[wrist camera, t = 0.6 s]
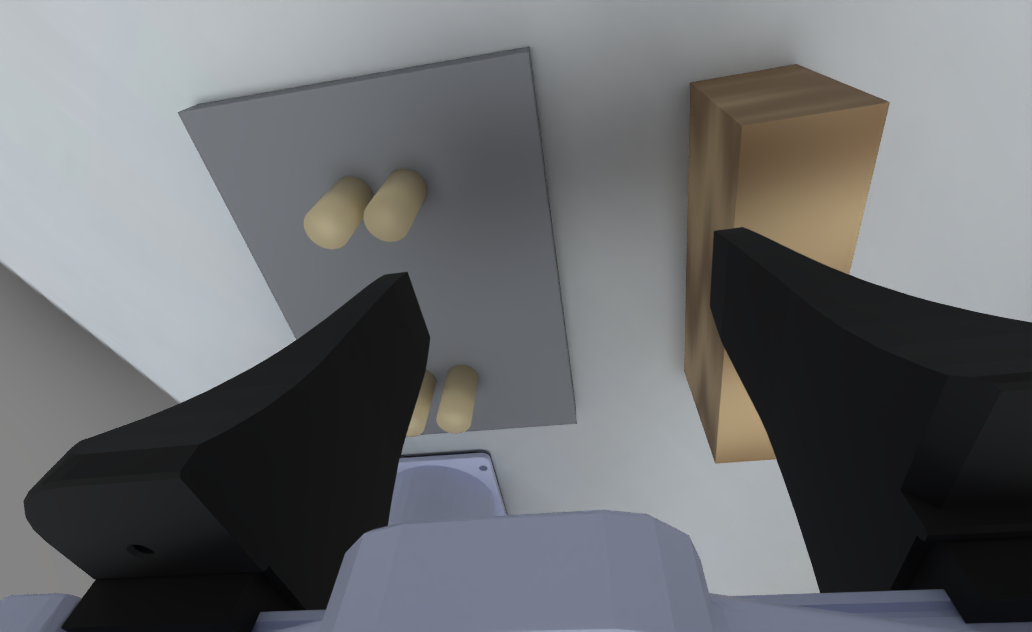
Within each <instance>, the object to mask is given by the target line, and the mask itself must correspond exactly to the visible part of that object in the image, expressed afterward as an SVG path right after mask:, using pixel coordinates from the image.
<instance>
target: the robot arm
mask: <svg viewBox="0 0 1032 632" xmlns="http://www.w3.org/2000/svg"><path fill="white" fill-rule="evenodd" d="M710 309H711V312H712V315H713V318H714V322H715V325H716V328H717V331H718V334H719V337H720V339H721V342H722V344H723V346H724V348H725V350H726V352H727V354H728V356H729V358H730V360H731V362H732V364H733V366H734V368H735V370H736V372H737V374H738V376H739V378H740V380H741V382H742V384H743V386H744V387H745V389H746V391H747V393H748V395H749V397H750V399H751V401H752V403H753V405H754V407H755V409H756V411H757V413H758V415H759V417H760V419H761V421H762V423H763V426H764V428H765V430H766V432H767V435H768V437H769V440H770V443H771V446H772V448H773V451H774V454H775V456H776V459H777V462H778V465H779V467H780V470H781V473H782V476H783V478H784V481H785V484H786V487H787V490H788V493H789V496H790V499H791V502H792V505H793V507H794V510H795V513H796V516H797V519H798V522H799V526H800V529H801V532H802V535H803V538H804V541H805V544H806V548H807V551H808V554H809V557H810V560H811V563H812V566H813V570H814V573H815V577H816V580H817V583H818V587H819V590H820V593H812V594H782V595H752V596H726V595H719V594H712V593H709V591H708V587H707V584H706V580H705V576H704V572H703V568H702V564H701V560H700V558H699V556H698V554H697V552H696V549H695V547H694V545H693V543H692V541H691V539H690V537H689V535H687V534H685V533H683V532H682V531H680V530H678V529H676V528H674V527H672V526H670V525H668V524H666V523H664V522H662V521H660V520H658V519H656V518H654V517H652V516H650V515H648V514H642V513H631V512H621V511H610V510H592V511H575V512H558V513H541V514H524V515H507V513H506V510H505V507H504V503H503V500H502V496H501V493H500V489H499V486H498V482H497V479H496V476H495V472H494V469H493V465H492V462H491V458H490V456H489V455H487V454H485V453H471V454H456V455H440V456H425V457H410V458H400V456H401V452H402V448H403V444H404V441H405V438H406V434H407V431H408V428H409V425H410V421H411V418H412V415H413V412H414V409H415V405H416V402H417V399H418V396H419V392H420V389H421V386H422V382H423V379H424V375H425V372H426V366H427V360H428V353H429V345H430V335H429V332H428V329H427V326H426V323H425V320H424V318H423V315H422V312H421V309H420V306H419V303H418V300H417V297H416V294H415V292H414V289H413V286H412V283H411V280H410V277H409V274H408V272H401V273H393V274H386V275H383V276H381V277H379V278H378V279H376V280H375V281H373V282H372V283H371V284H369V285H368V286H367V287H365V288H364V289H363V290H361V291H360V292H359V293H358V294H356V295H355V296H354V297H353V298H351V299H350V300H349V301H347V302H346V303H345V304H344V305H342V306H341V307H340V308H339V309H337V310H336V311H335V312H334V313H332V314H331V315H330V316H328V317H327V318H326V319H324V320H323V321H322V322H320V323H319V324H318V325H316V326H315V327H314V328H312V329H311V330H309V331H308V332H307V333H305V334H304V335H303V336H301V337H300V338H299V339H297V340H296V341H294V342H293V343H291V344H290V345H288V346H287V347H285V348H284V349H282V350H281V351H279V352H278V353H276V354H274V355H273V356H271V357H269V358H268V359H266V360H264V361H263V362H261V363H259V364H258V365H256V366H254V367H253V368H251V369H249V370H247V371H245V372H243V373H241V374H239V375H237V376H236V377H234V378H232V379H230V380H228V381H226V382H224V383H222V384H220V385H218V386H216V387H214V388H212V389H211V390H208V391H206V392H204V393H202V394H200V395H198V396H195V397H193V398H191V399H189V400H187V401H184V402H182V403H180V404H178V405H175V406H173V407H171V408H168V409H166V410H163V411H161V412H159V413H156V414H153V415H151V416H149V417H146V418H143V419H141V420H138V421H135V422H133V423H130V424H127V425H124V426H121V427H119V428H116V429H113V430H110V431H108V432H105V433H102V434H99V435H96V436H94V437H91V438H88V439H85V440H82V441H80V442H78V443H77V444H76V445H74V447H72V448H71V449H70V450H69V451H68V452H67V453H66V454H65V455H64V456H63V457H62V458H61V459H60V460H59V461H58V462H57V463H56V464H55V465H54V466H53V467H52V468H51V469H50V470H49V471H48V472H47V473H46V474H45V475H44V477H42V478H41V480H40V481H38V483H37V484H36V485H35V486H34V487H33V488H32V489H31V490H30V491H29V492H28V494H27V496H26V497H25V499H24V508H25V515H26V518H27V520H28V522H29V523H30V525H31V526H32V528H33V529H34V531H36V533H38V534H39V535H40V536H41V537H42V538H43V539H44V540H45V541H46V542H47V543H49V544H50V545H51V546H52V547H54V548H55V549H56V550H58V551H59V552H60V553H61V554H63V555H64V556H65V557H66V558H68V559H69V560H70V561H72V562H73V563H74V564H75V565H77V566H78V567H79V568H81V569H82V570H83V571H84V572H86V573H87V574H88V575H90V576H91V577H92V578H93V579H96V580H95V582H94V583H93V584H92V586H91V587H90V589H89V590H88V591H87V592H86V594H85V595H84V596H83V598H82V599H81V598H79V597H76V596H73V595H70V594H62V593H52V594H51V593H50V594H26V595H10V596H8V597H4V598H3V599H2V600H1V601H0V632H1032V322H1026V321H1020V320H1014V319H1008V318H1003V317H998V316H993V315H988V314H983V313H978V312H974V311H969V310H965V309H961V308H957V307H953V306H949V305H944V304H940V303H936V302H932V301H928V300H925V299H921V298H917V297H914V296H910V295H907V294H904V293H901V292H897V291H894V290H891V289H888V288H885V287H882V286H879V285H875V284H873V283H870V282H867V281H864V280H861V279H859V278H856V277H854V276H851V275H849V274H846V273H844V272H841V271H839V270H836V269H834V268H831V267H829V266H827V265H824V264H822V263H820V262H817V261H815V260H813V259H811V258H809V257H806V256H804V255H802V254H800V253H798V252H796V251H794V250H792V249H790V248H787V247H785V246H783V245H781V244H779V243H777V242H775V241H773V240H771V239H769V238H767V237H765V236H763V235H761V234H758V233H756V232H754V231H752V230H749V229H747V228H744V227H739V228H731V229H724V230H716V231H714V235H713V254H712V272H711V290H710Z"/></svg>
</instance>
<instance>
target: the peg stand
mask: <svg viewBox="0 0 1032 632" xmlns="http://www.w3.org/2000/svg"><path fill="white" fill-rule="evenodd" d="M178 114H179V116H180V118H181V120H182V122H183V124H184V125H185V127H186V129H187V131H188V133H189V135H190V137H191V139H192V141H193V143H194V145H195V147H196V148H197V150H198V152H199V154H200V156H201V158H202V160H203V162H204V164H205V166H206V168H207V169H208V171H209V173H210V175H211V177H212V179H213V181H214V183H215V185H216V187H217V189H218V191H219V192H220V194H221V196H222V198H223V200H224V202H225V204H226V206H227V208H228V210H229V212H230V213H231V215H232V217H233V219H234V221H235V223H236V225H237V227H238V229H239V231H240V233H241V235H242V236H243V238H244V240H245V242H246V244H247V246H248V248H249V250H250V252H251V254H252V256H253V257H254V259H255V261H256V263H257V265H258V267H259V269H260V271H261V273H262V275H263V277H264V278H265V280H266V282H267V284H268V286H269V288H270V290H271V292H272V294H273V296H274V298H275V300H276V301H277V303H278V305H279V307H280V309H281V311H282V313H283V315H284V317H285V319H286V321H287V322H288V324H289V326H290V328H291V330H292V332H293V334H294V336H295V338H296V340H297V339H299V338H300V337H301V336H303V335H304V334H305V333H307V332H308V331H309V330H311V329H312V328H314V327H315V326H316V325H318V324H319V323H320V322H322V321H323V320H324V319H326V318H327V317H328V316H330V315H331V314H332V313H334V312H335V311H336V310H337V309H339V308H340V307H341V306H342V305H344V304H345V303H346V302H347V301H349V300H350V299H351V298H353V297H354V296H355V295H356V294H358V293H359V292H360V291H361V290H363V289H364V288H365V287H367V286H368V285H369V284H371V283H372V282H373V281H375V280H376V279H378V278H379V277H381V276H383V275H386V274H393V273H401V272H408V274H409V277H410V280H411V283H412V286H413V289H414V292H415V294H416V297H417V300H418V303H419V306H420V309H421V312H422V315H423V318H424V320H425V323H426V326H427V329H428V332H429V335H430V345H429V353H428V360H427V366H426V372H425V375H424V379H423V382H422V386H421V389H420V392H419V396H418V399H417V402H416V405H415V409H414V412H413V415H412V418H411V421H410V425H409V428H408V431H407V434H406V436H408V437H413V436H418V435H424V434H438V433H462V432H466V431H480V430H494V429H508V428H521V427H535V426H549V425H563V424H577V420H576V406H575V398H574V391H573V383H572V375H571V367H570V360H569V352H568V344H567V336H566V329H565V321H564V313H563V305H562V298H561V290H560V282H559V274H558V267H557V259H556V251H555V243H554V236H553V228H552V220H551V212H550V205H549V197H548V189H547V181H546V174H545V166H544V158H543V150H542V143H541V135H540V127H539V119H538V111H537V104H536V96H535V88H534V80H533V73H532V65H531V57H530V49H529V47H525V48H519V49H514V50H508V51H502V52H496V53H491V54H485V55H479V56H473V57H468V58H462V59H456V60H451V61H445V62H439V63H433V64H428V65H422V66H416V67H410V68H405V69H399V70H393V71H387V72H382V73H376V74H370V75H365V76H359V77H353V78H347V79H342V80H336V81H330V82H324V83H319V84H313V85H307V86H301V87H296V88H290V89H284V90H279V91H273V92H267V93H261V94H256V95H250V96H244V97H238V98H233V99H227V100H221V101H215V102H210V103H204V104H198V105H195V106H192V107H190V108H187V109H185V110H183V111H180V112H178Z"/></svg>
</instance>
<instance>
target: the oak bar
mask: <svg viewBox="0 0 1032 632" xmlns="http://www.w3.org/2000/svg"><path fill="white" fill-rule="evenodd" d="M889 103H890V102H888V101H885V100H883V99H881V98H878V97H876V96H873V95H871V94H868V93H866V92H863V91H861V90H859V89H856V88H854V87H851V86H849V85H846V84H844V83H841V82H839V81H837V80H834V79H832V78H829V77H827V76H824V75H822V74H819V73H817V72H814V71H812V70H810V69H807V68H805V67H802V66H800V65H797V64H794V65H788V66H782V67H777V68H771V69H765V70H760V71H754V72H748V73H742V74H737V75H731V76H725V77H720V78H714V79H708V80H703V81H697V82H691V83H690V121H689V169H688V217H687V265H686V313H685V361H684V372H685V375H686V378H687V381H688V384H689V387H690V390H691V393H692V396H693V399H694V402H695V404H696V407H697V410H698V413H699V416H700V419H701V422H702V425H703V428H704V431H705V434H706V437H707V440H708V443H709V446H710V449H711V452H712V455H713V458H714V461H715V463H728V462H743V461H757V460H771V459H776V456H775V454H774V451H773V448H772V446H771V443H770V440H769V437H768V435H767V432H766V430H765V428H764V426H763V423H762V421H761V419H760V417H759V415H758V413H757V411H756V409H755V407H754V405H753V403H752V401H751V399H750V397H749V395H748V393H747V391H746V389H745V387H744V386H743V384H742V382H741V380H740V378H739V376H738V374H737V372H736V370H735V368H734V366H733V364H732V362H731V360H730V358H729V356H728V354H727V352H726V350H725V348H724V346H723V344H722V342H721V339H720V337H719V334H718V331H717V328H716V325H715V322H714V318H713V315H712V312H711V309H710V290H711V272H712V254H713V235H714V231H716V230H724V229H731V228H739V227H744V228H747V229H749V230H752V231H754V232H756V233H758V234H761V235H763V236H765V237H767V238H769V239H771V240H773V241H775V242H777V243H779V244H781V245H783V246H785V247H787V248H790V249H792V250H794V251H796V252H798V253H800V254H802V255H804V256H806V257H809V258H811V259H813V260H815V261H817V262H820V263H822V264H824V265H827V266H829V267H831V268H834V269H836V270H839V271H841V272H844V273H846V274H849V272H850V268H851V264H852V260H853V255H854V251H855V247H856V243H857V239H858V234H859V230H860V226H861V222H862V217H863V213H864V209H865V205H866V201H867V196H868V192H869V188H870V184H871V179H872V175H873V171H874V167H875V163H876V158H877V154H878V150H879V146H880V141H881V137H882V133H883V129H884V124H885V120H886V116H887V112H888V108H889Z"/></svg>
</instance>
